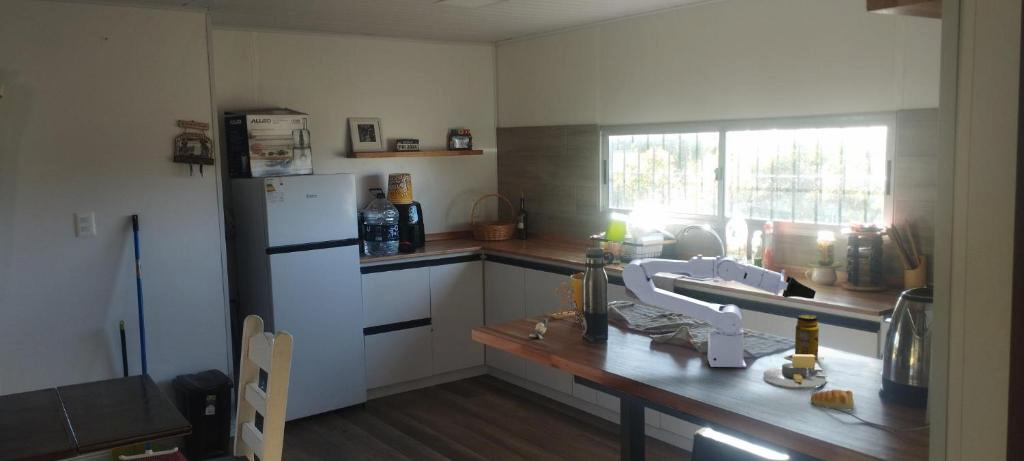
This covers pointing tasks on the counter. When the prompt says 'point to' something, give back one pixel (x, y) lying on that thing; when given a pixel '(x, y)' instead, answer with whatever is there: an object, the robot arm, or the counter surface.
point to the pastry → (834, 399)
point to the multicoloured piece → (798, 366)
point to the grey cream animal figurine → (540, 328)
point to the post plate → (779, 379)
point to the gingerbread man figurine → (567, 314)
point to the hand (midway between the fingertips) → (813, 294)
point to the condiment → (806, 336)
